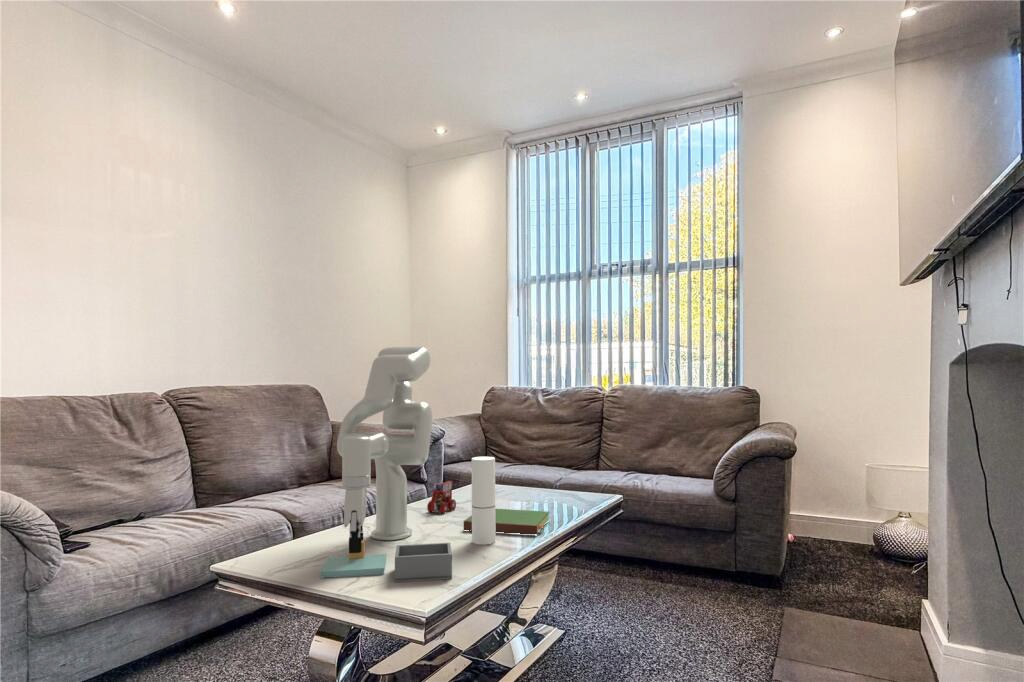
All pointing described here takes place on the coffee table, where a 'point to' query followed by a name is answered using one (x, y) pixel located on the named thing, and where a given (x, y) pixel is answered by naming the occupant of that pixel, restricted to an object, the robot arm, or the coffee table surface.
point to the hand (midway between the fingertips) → (356, 549)
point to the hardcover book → (516, 521)
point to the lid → (354, 565)
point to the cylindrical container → (483, 500)
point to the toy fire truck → (442, 498)
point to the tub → (423, 562)
